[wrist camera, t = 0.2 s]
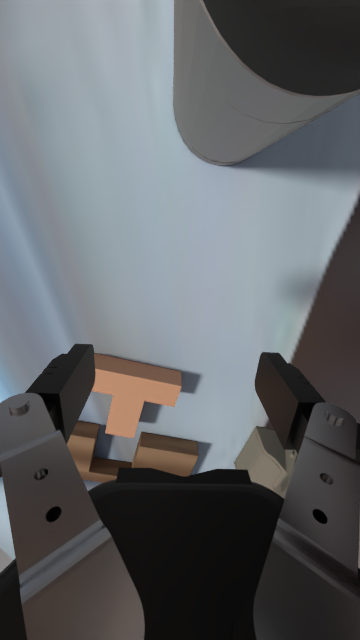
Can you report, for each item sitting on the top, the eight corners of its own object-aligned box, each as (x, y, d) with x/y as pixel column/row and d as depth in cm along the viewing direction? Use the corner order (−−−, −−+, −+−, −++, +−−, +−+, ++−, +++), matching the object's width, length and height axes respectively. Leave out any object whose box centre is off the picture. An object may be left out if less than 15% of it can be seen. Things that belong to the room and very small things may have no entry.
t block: (91, 352, 32) (84, 366, 30) (181, 371, 34) (181, 386, 31) (82, 411, 37) (75, 428, 34) (162, 425, 38) (161, 442, 36)
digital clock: (258, 483, 45) (281, 559, 35) (215, 468, 43) (228, 545, 33) (319, 425, 39) (367, 498, 30) (274, 405, 37) (309, 476, 27)
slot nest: (37, 413, 36) (28, 427, 34) (197, 441, 40) (198, 456, 38) (35, 456, 40) (27, 471, 38) (180, 478, 44) (181, 493, 41)
